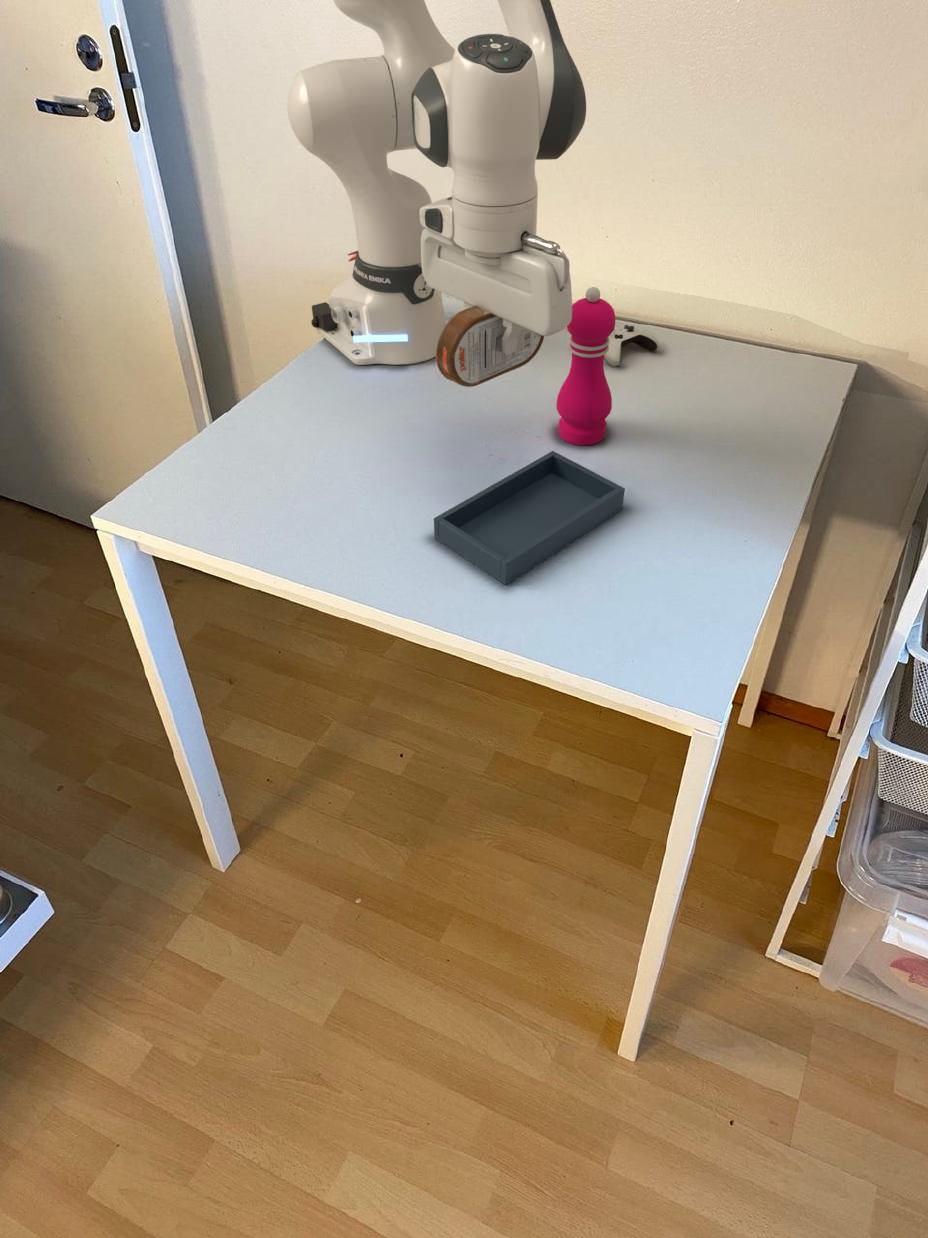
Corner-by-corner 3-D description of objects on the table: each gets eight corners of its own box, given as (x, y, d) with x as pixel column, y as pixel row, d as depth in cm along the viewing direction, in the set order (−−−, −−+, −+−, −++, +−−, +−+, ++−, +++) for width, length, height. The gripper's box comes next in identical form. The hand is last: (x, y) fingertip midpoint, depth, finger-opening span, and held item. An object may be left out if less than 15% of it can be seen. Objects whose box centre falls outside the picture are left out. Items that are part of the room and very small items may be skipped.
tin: (532, 350, 111) (531, 280, 106) (550, 357, 109) (550, 287, 104) (436, 391, 104) (430, 319, 99) (454, 399, 102) (449, 326, 97)
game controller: (617, 364, 134) (599, 327, 134) (597, 378, 139) (580, 342, 139) (663, 345, 138) (646, 309, 138) (642, 359, 143) (626, 324, 143)
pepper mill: (546, 439, 121) (553, 293, 108) (567, 414, 126) (577, 271, 112) (596, 452, 119) (611, 304, 105) (616, 426, 123) (632, 281, 110)
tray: (434, 538, 106) (433, 518, 104) (551, 470, 116) (552, 450, 114) (505, 585, 100) (505, 564, 98) (622, 508, 110) (625, 488, 108)
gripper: (590, 238, 91) (580, 366, 100) (451, 191, 102) (454, 310, 111) (547, 256, 88) (541, 386, 97) (408, 205, 99) (415, 327, 108)
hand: (493, 345), depth 104 cm, fingers closed on tin, 2 cm apart
